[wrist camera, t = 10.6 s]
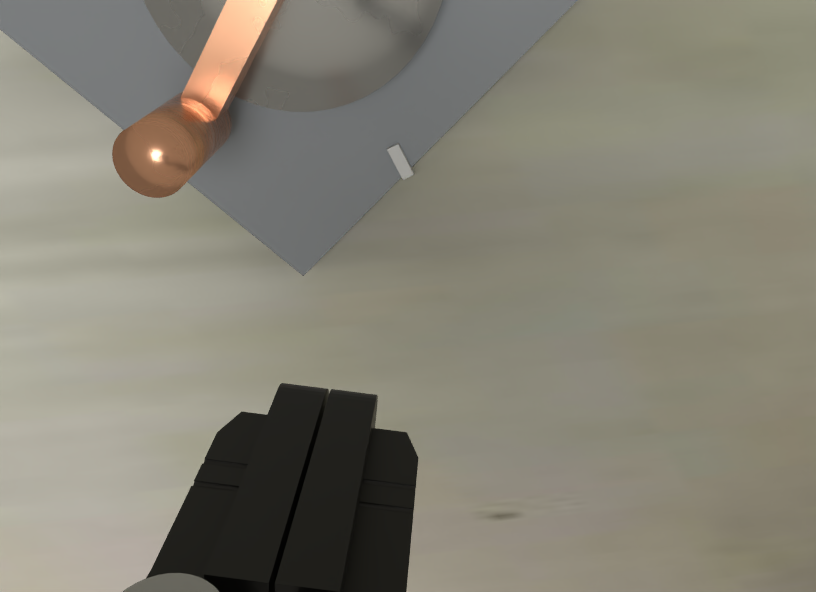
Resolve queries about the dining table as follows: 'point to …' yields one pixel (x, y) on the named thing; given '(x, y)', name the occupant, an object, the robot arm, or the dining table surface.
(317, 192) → the plate
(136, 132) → the silver and copper crank
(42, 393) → the dining table surface
